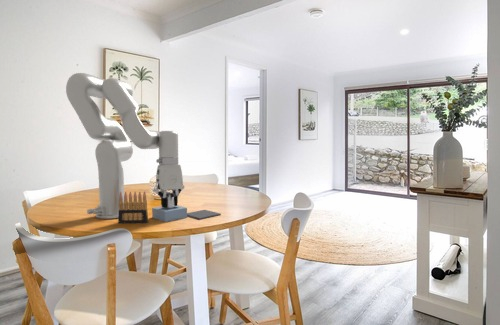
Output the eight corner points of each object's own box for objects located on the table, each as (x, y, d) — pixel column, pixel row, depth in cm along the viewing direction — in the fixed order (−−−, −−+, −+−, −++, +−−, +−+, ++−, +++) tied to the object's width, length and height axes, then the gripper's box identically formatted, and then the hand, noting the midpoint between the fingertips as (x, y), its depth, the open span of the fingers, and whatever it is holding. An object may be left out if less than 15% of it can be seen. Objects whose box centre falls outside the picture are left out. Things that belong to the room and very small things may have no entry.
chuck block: (165, 222, 122) (165, 211, 122) (152, 217, 129) (152, 207, 129) (187, 217, 129) (186, 207, 129) (173, 213, 136) (173, 204, 136)
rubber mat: (199, 219, 126) (199, 218, 126) (183, 215, 133) (183, 213, 133) (220, 215, 134) (220, 213, 134) (204, 210, 141) (204, 209, 141)
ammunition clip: (148, 221, 123) (147, 191, 122) (147, 223, 121) (146, 191, 120) (119, 222, 122) (119, 191, 121) (118, 223, 120) (117, 192, 119)
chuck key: (170, 220, 125) (170, 194, 124) (160, 216, 130) (159, 192, 130) (179, 218, 128) (178, 193, 127) (168, 215, 133) (168, 191, 133)
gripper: (154, 163, 119) (155, 211, 120) (191, 161, 131) (192, 204, 132) (144, 162, 124) (145, 208, 125) (181, 160, 136) (181, 202, 137)
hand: (169, 205), depth 129 cm, fingers closed on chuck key, 4 cm apart
